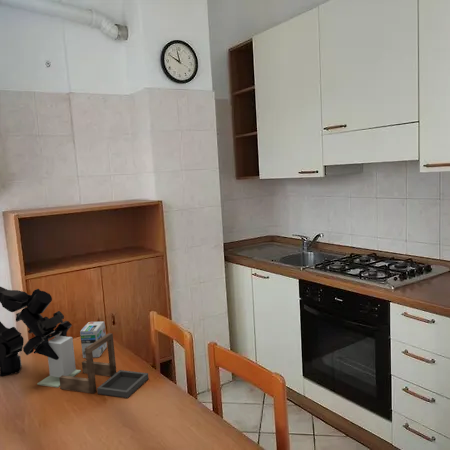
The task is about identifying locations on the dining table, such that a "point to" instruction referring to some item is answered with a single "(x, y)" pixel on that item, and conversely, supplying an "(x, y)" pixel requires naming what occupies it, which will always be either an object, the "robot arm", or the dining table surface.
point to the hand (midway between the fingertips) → (64, 355)
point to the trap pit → (123, 384)
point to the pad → (55, 380)
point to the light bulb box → (93, 337)
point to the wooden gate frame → (92, 368)
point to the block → (62, 356)
